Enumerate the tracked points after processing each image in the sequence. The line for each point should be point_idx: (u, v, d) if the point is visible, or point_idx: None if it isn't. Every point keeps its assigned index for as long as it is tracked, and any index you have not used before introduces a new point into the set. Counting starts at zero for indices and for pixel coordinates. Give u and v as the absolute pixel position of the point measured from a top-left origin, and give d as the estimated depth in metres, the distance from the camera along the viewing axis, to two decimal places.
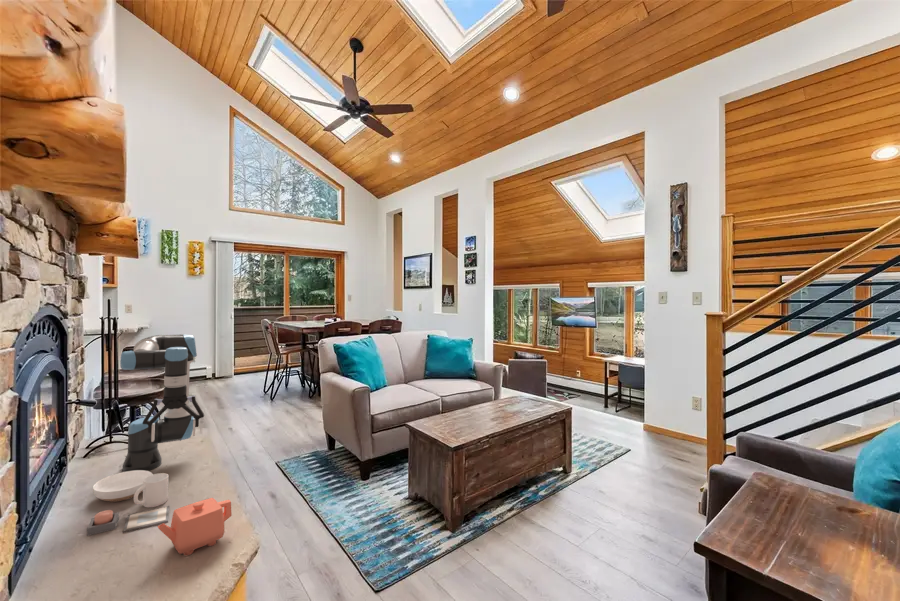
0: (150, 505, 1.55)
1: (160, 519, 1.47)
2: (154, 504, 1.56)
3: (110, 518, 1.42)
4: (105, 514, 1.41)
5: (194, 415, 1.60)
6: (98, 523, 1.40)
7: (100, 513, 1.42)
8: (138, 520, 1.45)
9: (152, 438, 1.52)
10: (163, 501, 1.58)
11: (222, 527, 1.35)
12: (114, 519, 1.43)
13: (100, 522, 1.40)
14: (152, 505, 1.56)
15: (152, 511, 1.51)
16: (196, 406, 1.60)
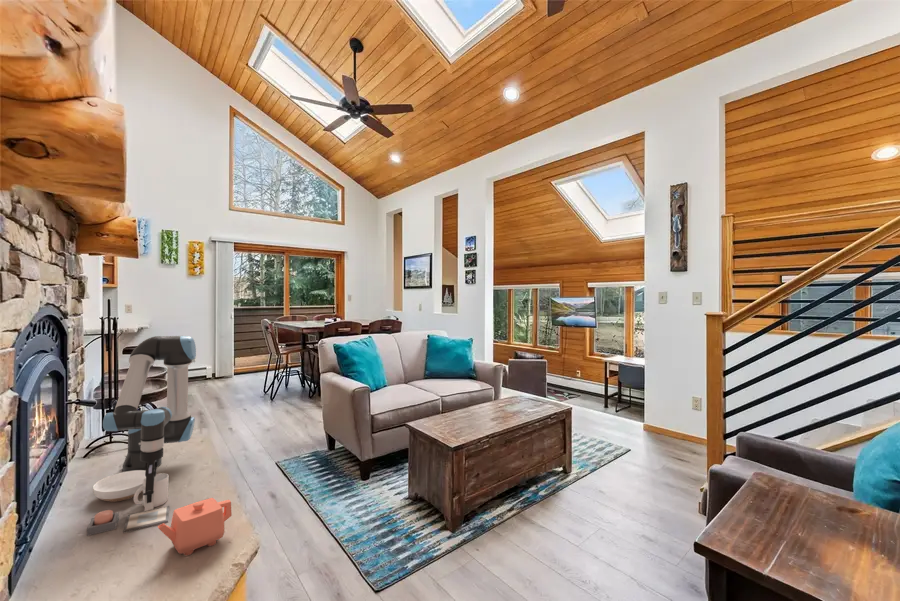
0: None
1: (160, 519, 1.47)
2: (154, 504, 1.56)
3: (110, 518, 1.42)
4: (105, 514, 1.41)
5: None
6: (98, 523, 1.40)
7: (100, 513, 1.42)
8: (138, 520, 1.45)
9: None
10: (163, 501, 1.58)
11: (222, 527, 1.35)
12: (114, 519, 1.43)
13: (100, 522, 1.40)
14: None
15: (152, 511, 1.51)
16: None
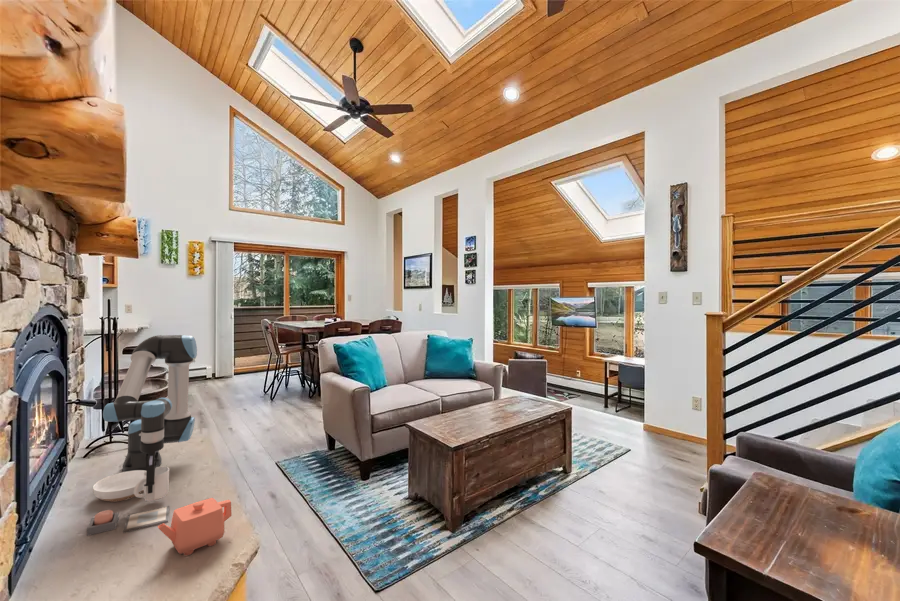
0: None
1: (160, 519, 1.47)
2: (154, 497, 1.56)
3: (110, 518, 1.42)
4: (105, 514, 1.41)
5: None
6: (98, 523, 1.40)
7: (100, 513, 1.42)
8: (138, 520, 1.45)
9: None
10: (163, 494, 1.58)
11: (222, 527, 1.35)
12: (114, 519, 1.43)
13: (100, 522, 1.40)
14: None
15: (152, 511, 1.51)
16: None
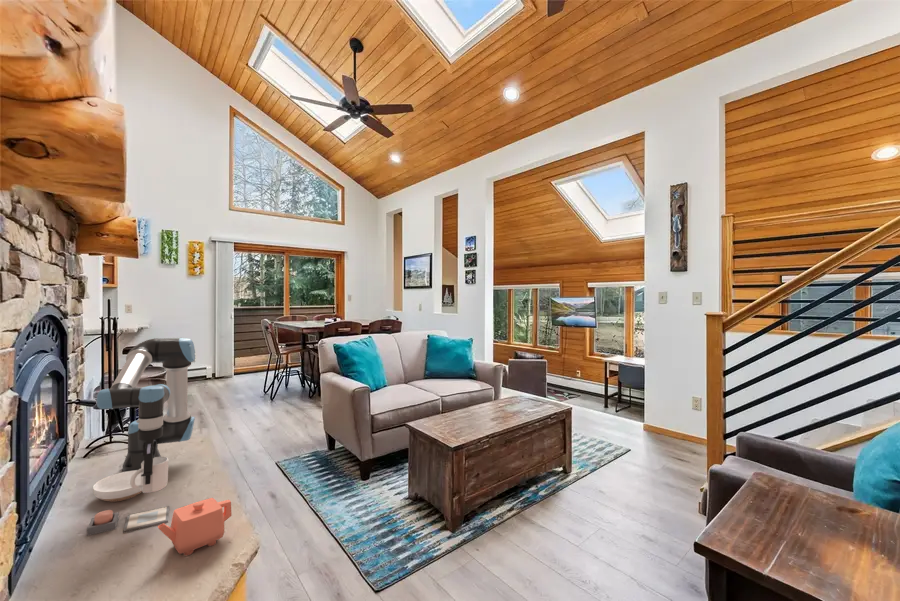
0: None
1: (160, 519, 1.47)
2: (152, 489, 1.45)
3: (110, 518, 1.42)
4: (105, 514, 1.41)
5: None
6: (98, 523, 1.40)
7: (100, 513, 1.42)
8: (138, 520, 1.45)
9: None
10: (162, 486, 1.47)
11: (222, 527, 1.36)
12: (114, 519, 1.43)
13: (100, 522, 1.40)
14: None
15: (152, 511, 1.51)
16: (144, 460, 1.42)
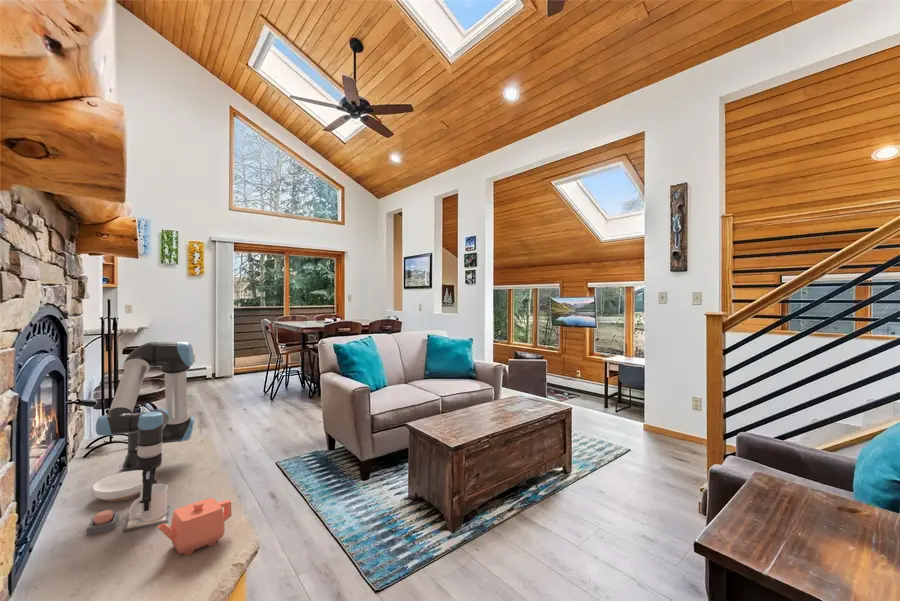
0: (147, 519, 1.45)
1: (160, 519, 1.47)
2: (151, 518, 1.45)
3: (110, 518, 1.42)
4: (105, 514, 1.41)
5: None
6: (98, 523, 1.40)
7: (100, 513, 1.42)
8: (138, 520, 1.45)
9: None
10: (161, 514, 1.47)
11: (222, 527, 1.36)
12: (114, 519, 1.43)
13: (100, 522, 1.40)
14: (149, 519, 1.45)
15: None
16: (143, 486, 1.41)
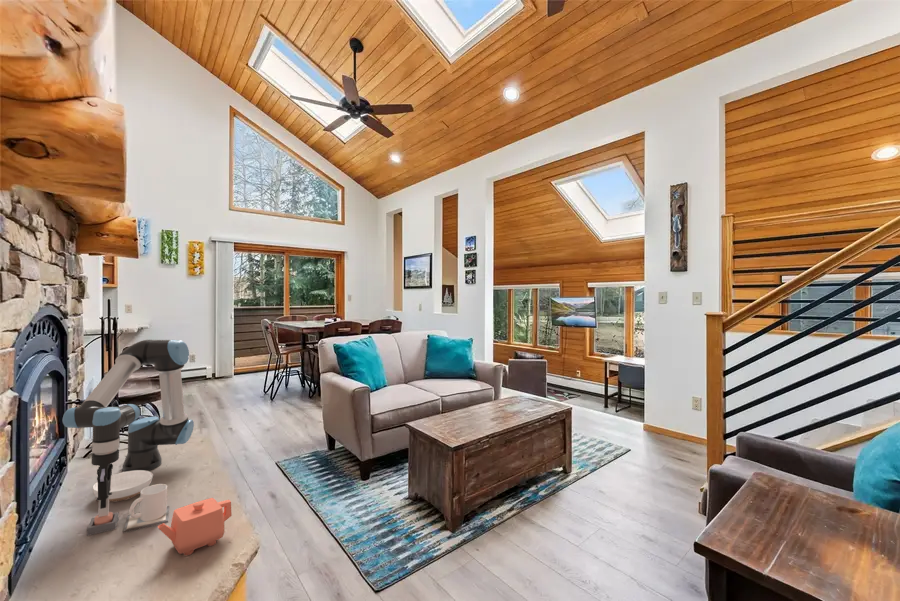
0: (147, 519, 1.45)
1: (160, 519, 1.47)
2: (151, 518, 1.45)
3: (110, 520, 1.42)
4: (104, 516, 1.41)
5: None
6: None
7: None
8: (138, 520, 1.45)
9: None
10: (161, 514, 1.47)
11: (222, 527, 1.36)
12: (114, 519, 1.43)
13: None
14: (149, 519, 1.45)
15: None
16: (98, 486, 1.38)
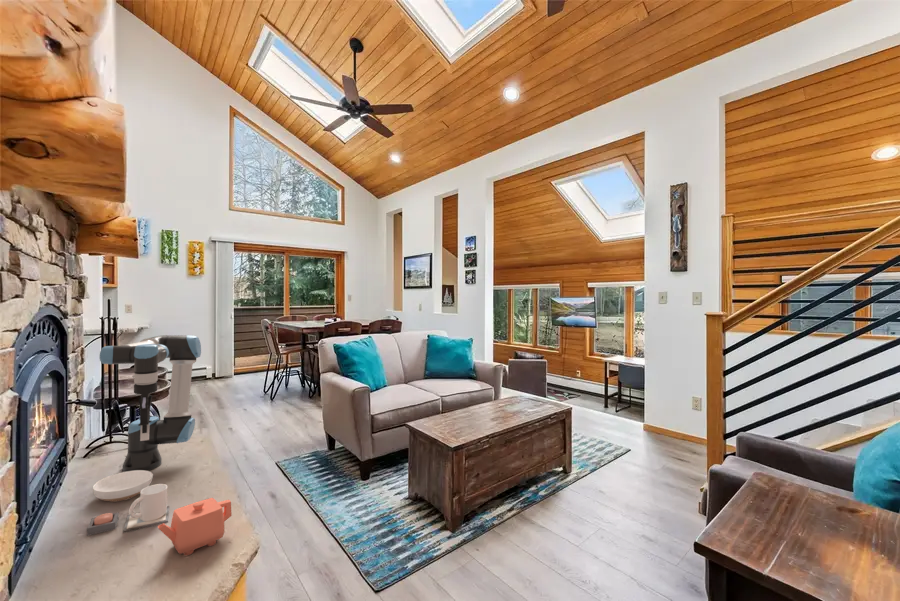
0: (147, 519, 1.45)
1: (160, 519, 1.47)
2: (151, 518, 1.45)
3: (110, 521, 1.42)
4: (104, 517, 1.41)
5: None
6: None
7: (100, 516, 1.42)
8: (138, 520, 1.45)
9: None
10: (161, 514, 1.47)
11: (222, 527, 1.36)
12: (114, 519, 1.43)
13: None
14: (149, 519, 1.45)
15: None
16: (140, 413, 1.53)
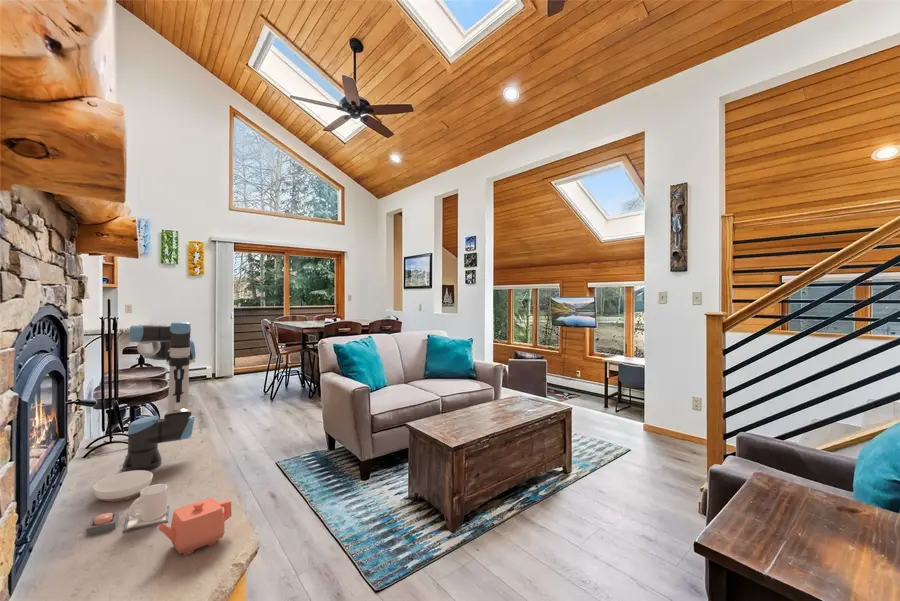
0: (147, 519, 1.45)
1: (160, 519, 1.47)
2: (151, 518, 1.45)
3: (110, 521, 1.42)
4: (104, 517, 1.41)
5: None
6: None
7: (100, 516, 1.42)
8: (138, 520, 1.45)
9: (174, 406, 1.73)
10: (161, 514, 1.47)
11: (222, 527, 1.36)
12: (114, 519, 1.43)
13: None
14: (149, 519, 1.45)
15: None
16: (175, 383, 1.69)
